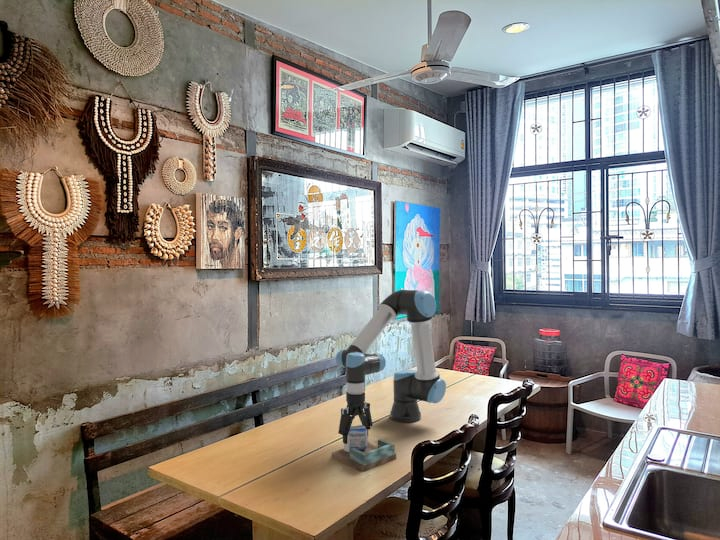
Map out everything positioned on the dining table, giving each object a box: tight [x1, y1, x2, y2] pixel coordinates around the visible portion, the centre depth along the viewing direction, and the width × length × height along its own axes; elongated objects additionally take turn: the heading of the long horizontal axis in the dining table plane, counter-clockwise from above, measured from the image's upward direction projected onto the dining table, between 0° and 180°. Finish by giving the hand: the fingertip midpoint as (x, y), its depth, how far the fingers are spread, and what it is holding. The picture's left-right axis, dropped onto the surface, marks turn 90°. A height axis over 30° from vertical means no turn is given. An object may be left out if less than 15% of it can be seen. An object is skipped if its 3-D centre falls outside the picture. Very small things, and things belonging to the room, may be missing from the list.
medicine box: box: [345, 424, 366, 450], centre depth 201 cm, size 8×4×9 cm, turn 105°
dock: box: [331, 438, 397, 473], centre depth 198 cm, size 18×18×6 cm
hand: (355, 447), depth 201 cm, fingers closed on medicine box, 9 cm apart
